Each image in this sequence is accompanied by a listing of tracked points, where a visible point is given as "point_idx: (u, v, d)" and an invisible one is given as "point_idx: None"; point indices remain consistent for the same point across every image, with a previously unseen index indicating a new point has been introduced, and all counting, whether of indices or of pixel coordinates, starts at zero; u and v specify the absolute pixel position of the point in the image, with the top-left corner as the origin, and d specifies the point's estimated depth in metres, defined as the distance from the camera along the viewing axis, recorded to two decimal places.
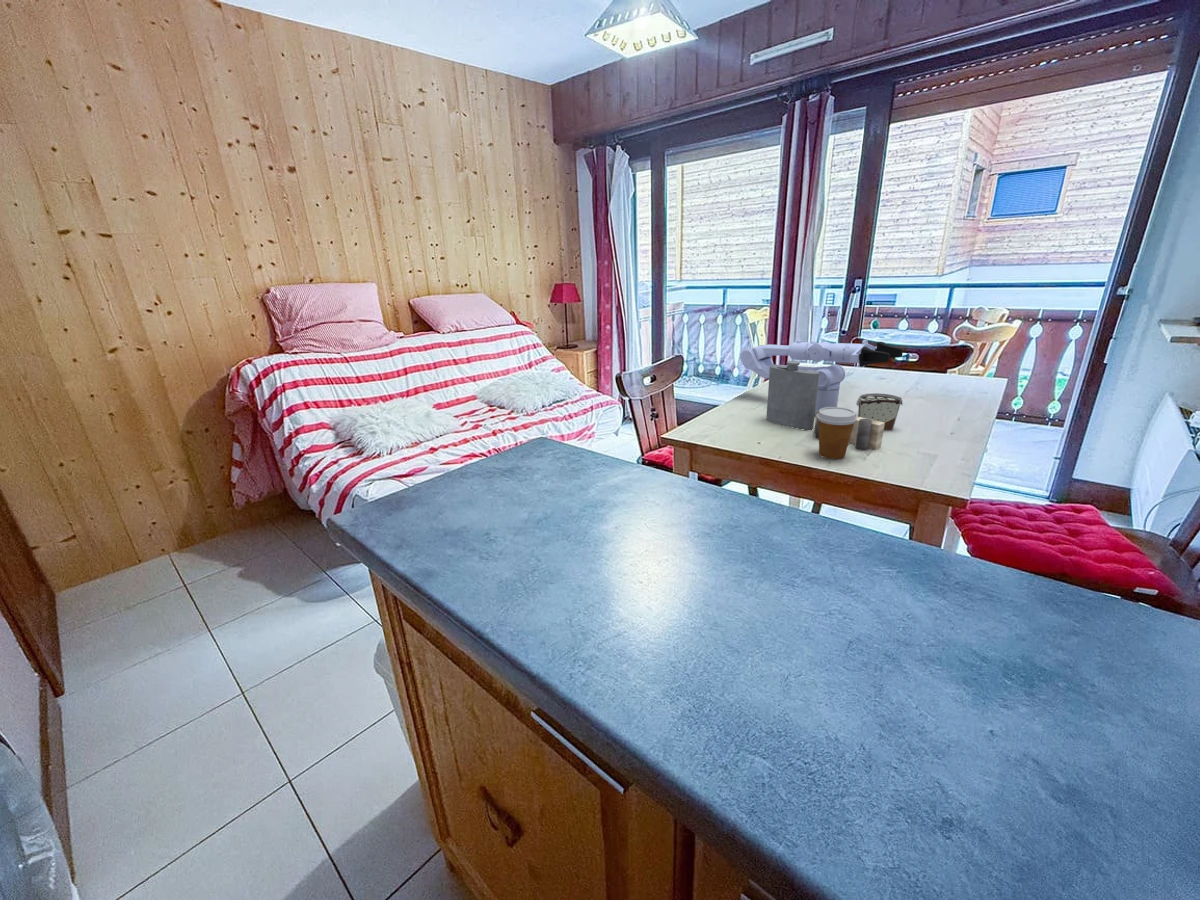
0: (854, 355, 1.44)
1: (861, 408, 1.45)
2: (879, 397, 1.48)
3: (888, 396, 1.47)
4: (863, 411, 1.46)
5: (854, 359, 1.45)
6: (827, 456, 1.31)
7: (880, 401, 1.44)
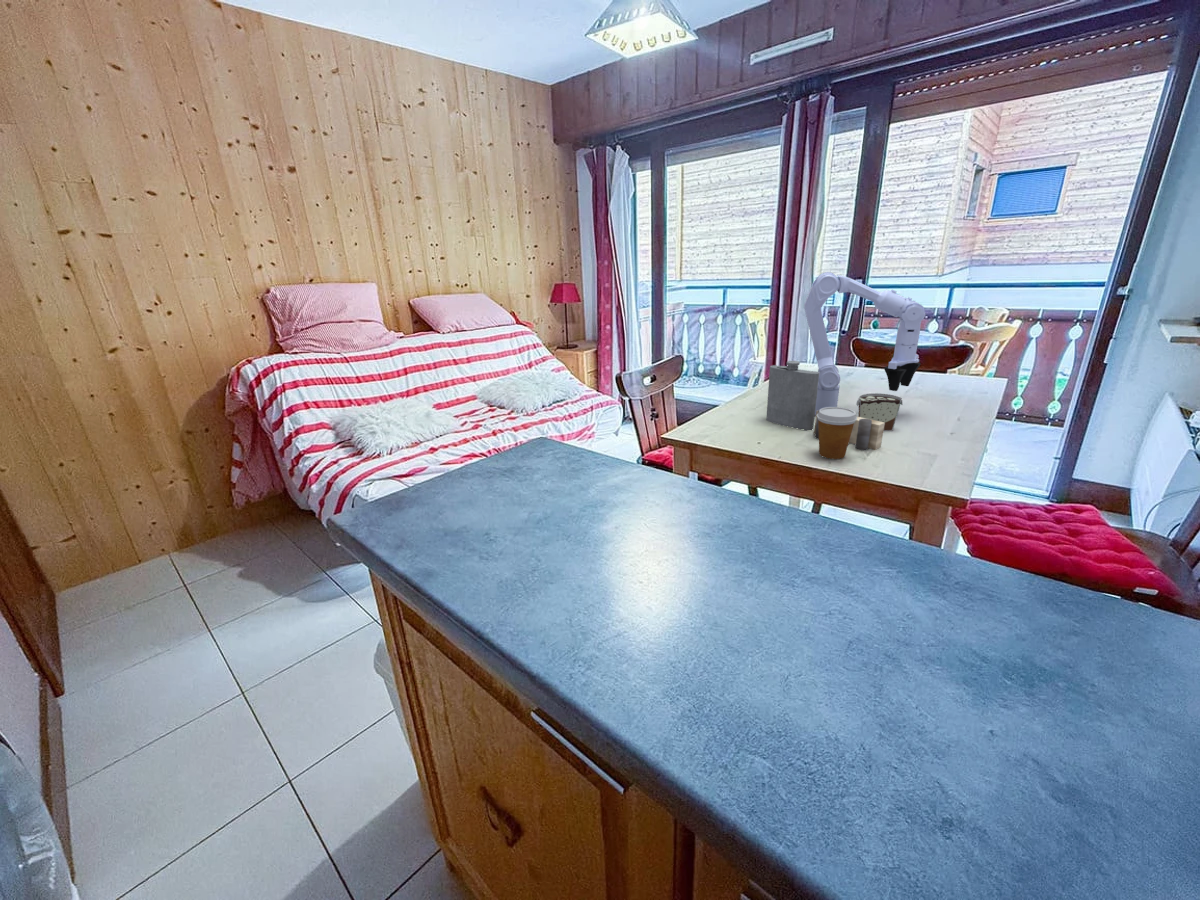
0: (894, 366, 1.47)
1: (861, 408, 1.45)
2: (879, 397, 1.48)
3: (888, 396, 1.47)
4: (863, 411, 1.46)
5: (890, 366, 1.48)
6: (827, 456, 1.31)
7: (880, 401, 1.44)
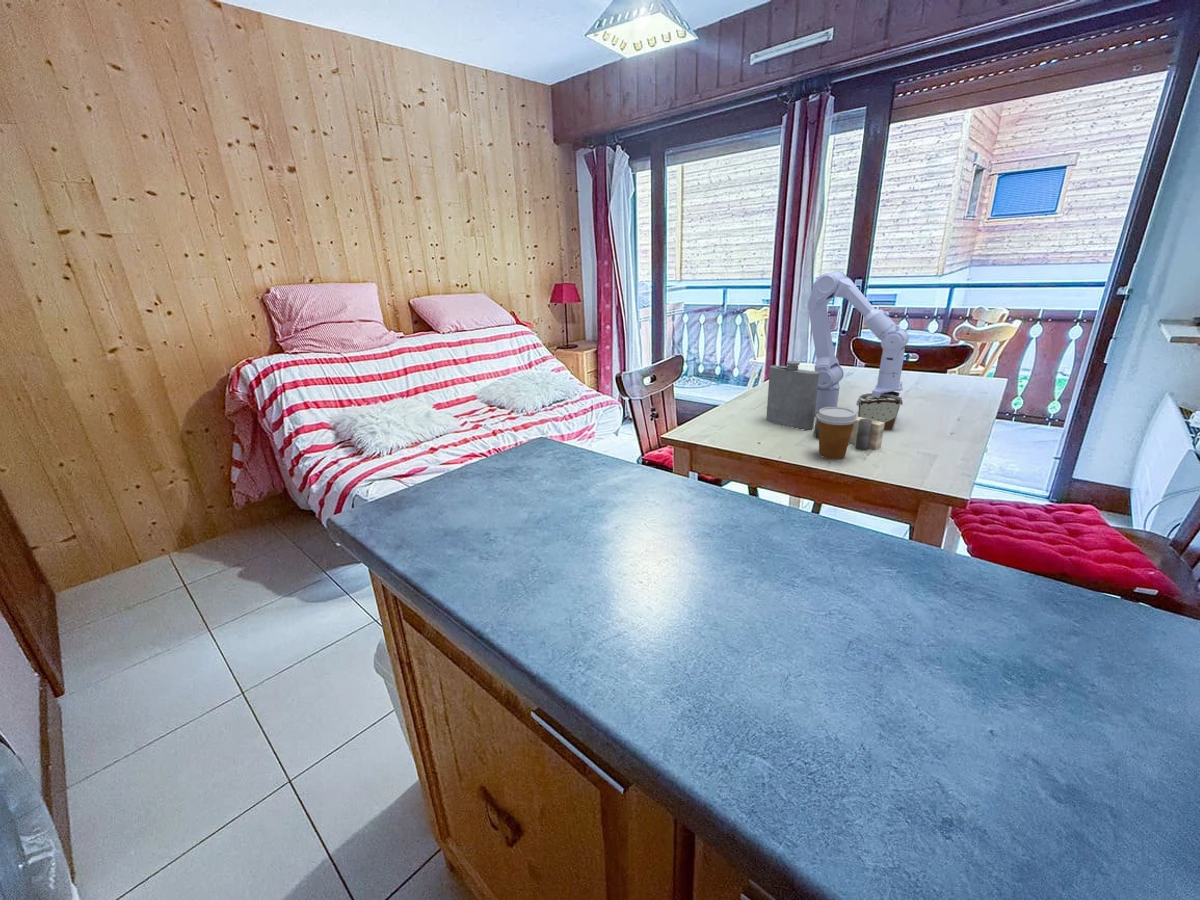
0: (877, 395, 1.45)
1: (861, 408, 1.45)
2: (879, 397, 1.48)
3: (888, 396, 1.47)
4: (863, 411, 1.46)
5: (873, 394, 1.46)
6: (827, 456, 1.31)
7: (880, 401, 1.44)
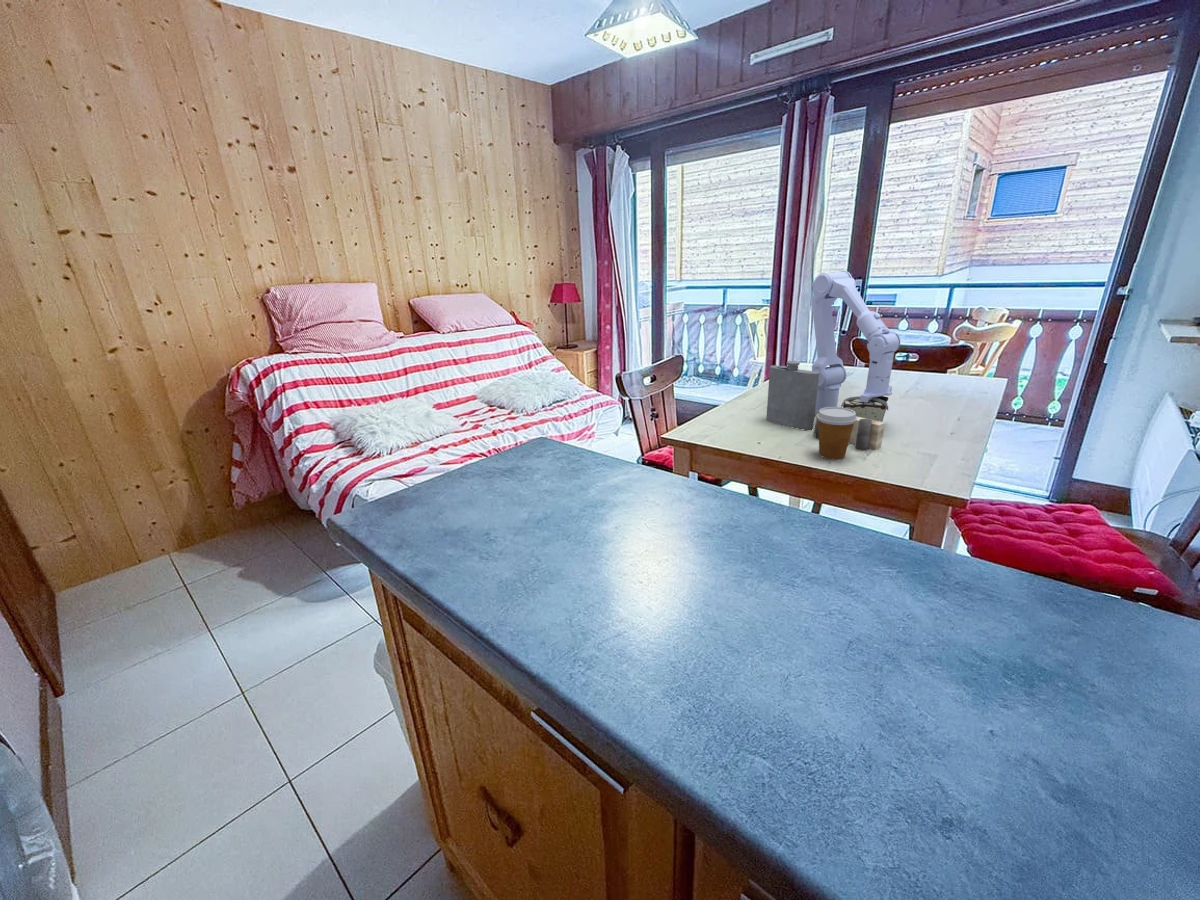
0: (866, 399, 1.42)
1: None
2: None
3: (876, 400, 1.43)
4: None
5: (862, 399, 1.42)
6: (827, 456, 1.31)
7: (864, 405, 1.41)
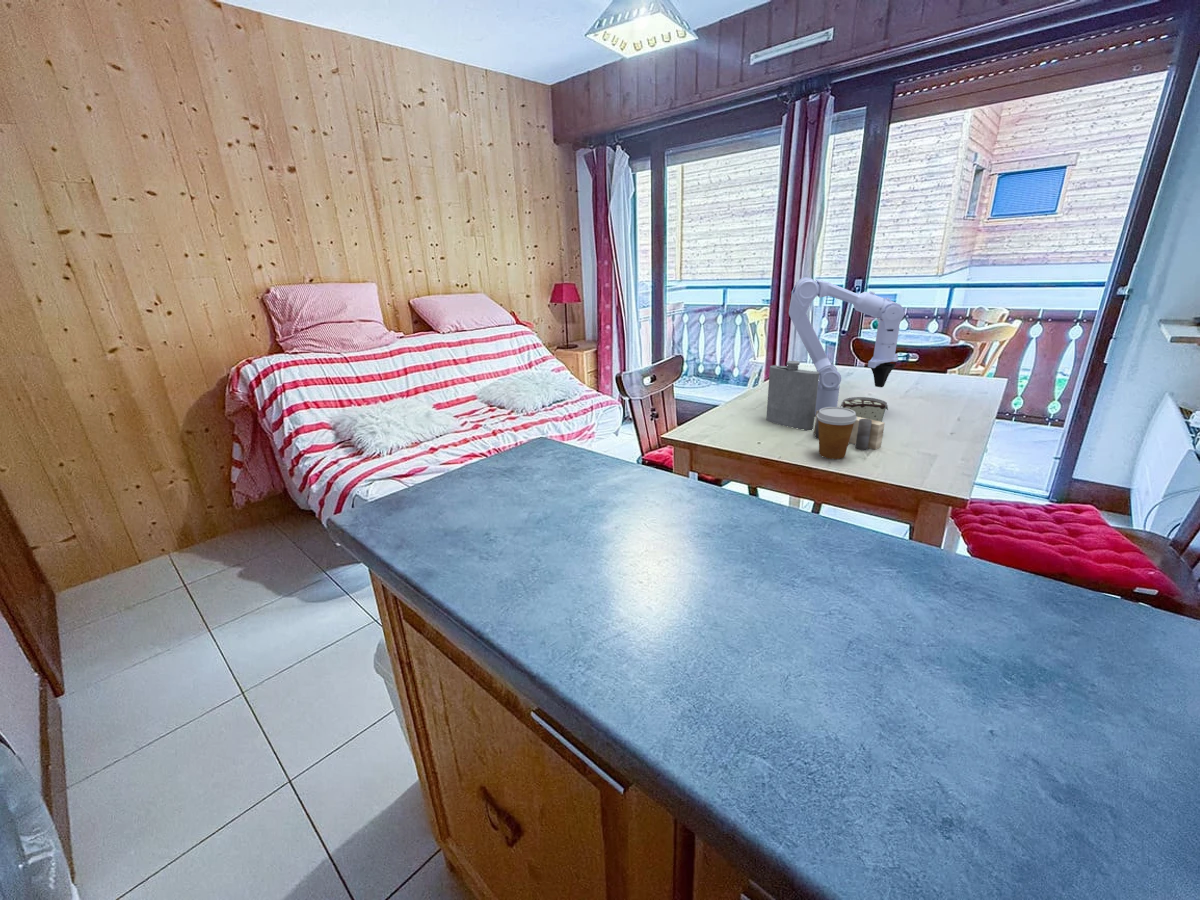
0: (873, 365, 1.50)
1: None
2: (866, 401, 1.45)
3: (876, 400, 1.44)
4: None
5: (869, 365, 1.50)
6: (827, 456, 1.31)
7: (864, 405, 1.42)
